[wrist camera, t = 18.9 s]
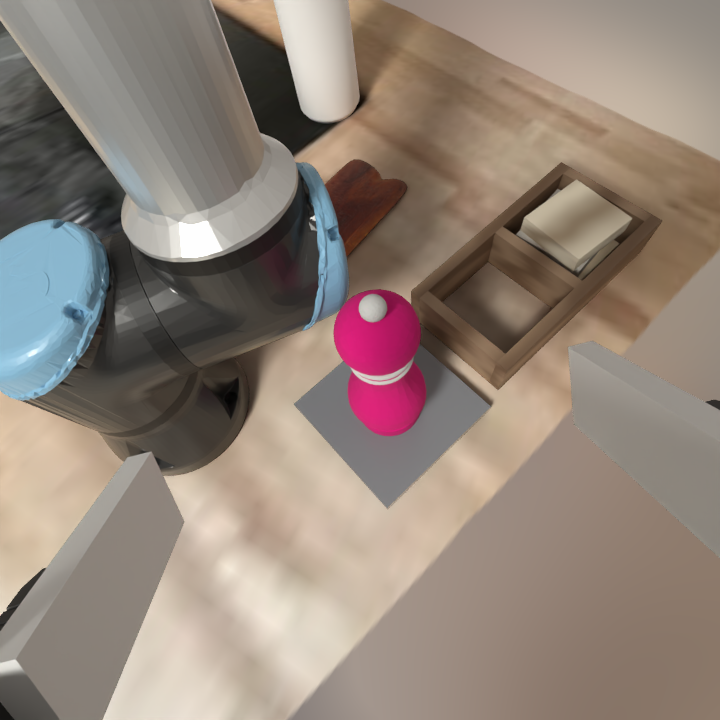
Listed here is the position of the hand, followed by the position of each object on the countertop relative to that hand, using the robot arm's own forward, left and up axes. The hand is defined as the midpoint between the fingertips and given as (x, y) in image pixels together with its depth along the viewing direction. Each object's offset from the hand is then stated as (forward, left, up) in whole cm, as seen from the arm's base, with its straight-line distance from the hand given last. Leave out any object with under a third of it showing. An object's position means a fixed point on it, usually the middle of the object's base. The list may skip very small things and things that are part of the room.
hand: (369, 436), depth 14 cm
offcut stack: (-9, +34, -31) cm, 46 cm away
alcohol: (-49, +33, -31) cm, 66 cm away
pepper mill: (-9, +7, -30) cm, 32 cm away
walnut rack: (-9, +28, -31) cm, 42 cm away
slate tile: (-9, +7, -31) cm, 33 cm away
